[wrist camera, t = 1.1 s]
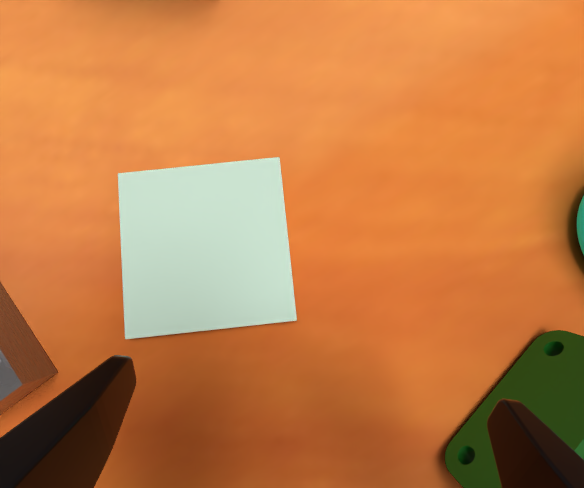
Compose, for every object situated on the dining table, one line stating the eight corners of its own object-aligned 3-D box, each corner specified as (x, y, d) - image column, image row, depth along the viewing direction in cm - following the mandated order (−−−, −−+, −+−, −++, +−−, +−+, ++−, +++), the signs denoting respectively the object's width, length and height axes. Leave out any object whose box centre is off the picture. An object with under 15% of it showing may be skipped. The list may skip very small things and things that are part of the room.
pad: (296, 319, 23) (296, 320, 22) (130, 337, 23) (125, 339, 22) (279, 161, 24) (279, 156, 24) (123, 177, 24) (117, 173, 23)
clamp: (477, 455, 26) (547, 615, 18) (426, 406, 25) (474, 550, 17) (636, 370, 22) (823, 519, 14) (583, 309, 22) (749, 429, 13)
